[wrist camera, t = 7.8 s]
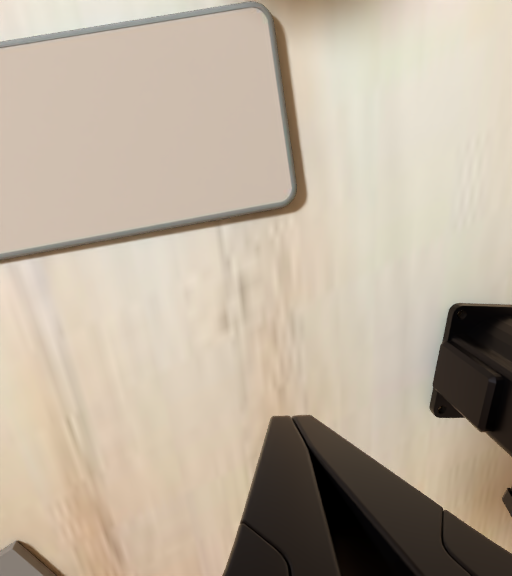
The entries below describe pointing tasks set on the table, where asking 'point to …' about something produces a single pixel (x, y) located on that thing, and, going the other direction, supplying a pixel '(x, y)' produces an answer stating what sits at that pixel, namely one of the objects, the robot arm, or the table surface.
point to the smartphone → (141, 128)
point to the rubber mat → (21, 562)
